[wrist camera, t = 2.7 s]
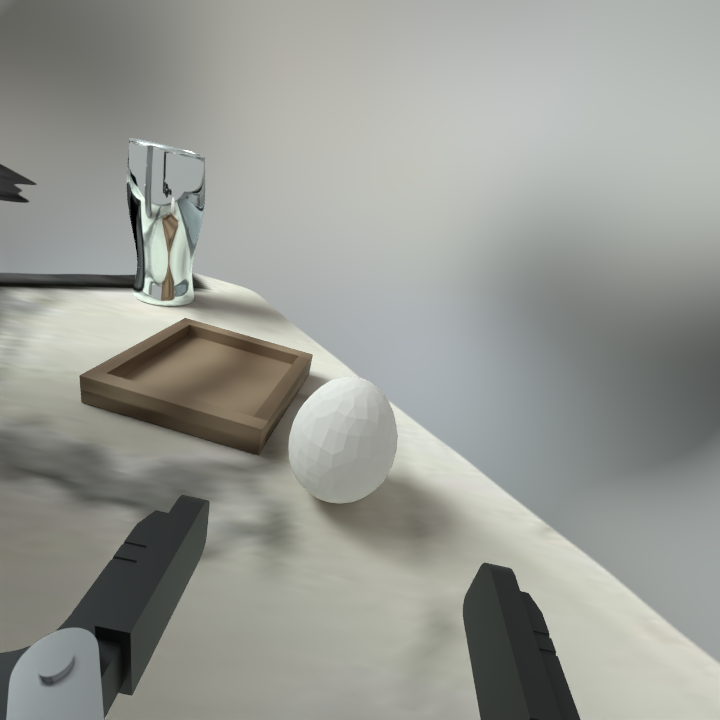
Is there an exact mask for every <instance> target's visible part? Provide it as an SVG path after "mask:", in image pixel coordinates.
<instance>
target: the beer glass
mask: <svg viewBox="0 0 720 720" xmlns="http://www.w3.org/2000/svg"><path fill="white" fill-rule="evenodd" d="M127 201H128V208H129V215H130V221H131V226H132V231H133V236H134V241H135V246H136V252H137V273H136V277H135V282H134V287H133V295H134V296H135V297H136V298H137V299H139V300H141V301H143V302H146V303H149V304H154V305H160V306H181V305H186V304H189V303H191V302H192V301H193V300H194V289H193V282H192V263H193V257H194V253H195V249H196V245H197V241H198V237H199V233H200V228H201V224H202V219H203V214H204V204H205V156H204V155H201V154H198V153H195V152H192V151H188V150H184V149H180V148H177V147H172V146H168V145H164V144H160V143H155V142H151V141H146V140H141V139H135V138H129V151H128V164H127Z"/></svg>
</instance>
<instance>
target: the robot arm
mask: <svg viewBox="0 0 720 720" xmlns="http://www.w3.org/2000/svg"><path fill="white" fill-rule="evenodd" d="M208 515H209V501H208V500H203V499H199V498H194V497H190V496H185V495H182V496H180V497H179V499H178V500H177V501H176V503H175V505H174V506H173V508H172V509H171V511H170V512H169V513H165V512H161V511H154V512H153V513H152V514H150V515H149V516H147V517H146V518H145V519H143V520H142V521H141V522H139V523H138V524H137V525H136V526H135V528H134V529H133V530H132V532H131V533H130V535H129V536H128V537H127V539H126V540H125V542H124V544H123V545H121V547H120V548H119V550H118V551H117V552H116V554H115V555H114V557H113V559H112V560H110V562H109V563H108V565H107V566H106V567H105V569H104V570H103V571H102V573H101V574H100V575H99V577H98V578H97V580H96V581H95V582H94V584H93V585H92V586H91V588H90V589H89V591H88V592H87V593H86V595H85V596H84V597H83V599H82V600H81V601H80V603H79V604H78V606H77V607H76V608H75V610H74V611H73V612H72V614H71V615H70V616H69V618H68V619H67V620H66V621H65V622H64V623H63V624H62V625H61V626H60V627H59V628H58V629H57V630H56V631H55V632H53V633H50V634H48V635H47V636H45V637H43V638H41V639H40V640H39V641H37V642H36V643H34V644H33V645H31V646H29V647H26V648H23V649H20V650H16V651H11V652H5V653H0V720H104V719H105V717H106V715H107V713H108V711H109V709H110V707H111V705H112V703H113V702H114V700H115V698H116V696H117V694H118V693H122V694H127V695H132V694H133V692H134V690H135V688H136V686H137V684H138V682H139V680H140V678H141V676H142V674H143V672H144V670H145V668H146V666H147V664H148V662H149V660H150V658H151V656H152V654H153V652H154V650H155V648H156V646H157V644H158V642H159V640H160V638H161V636H162V634H163V632H164V630H165V628H166V626H167V624H168V622H169V620H170V618H171V616H172V614H173V612H174V610H175V608H176V606H177V604H178V602H179V600H180V598H181V596H182V594H183V592H184V590H185V588H186V586H187V584H188V582H189V580H190V578H191V576H192V574H193V572H194V570H195V568H196V566H197V564H198V562H199V560H200V557H201V555H202V552H203V549H204V546H205V542H206V536H207V525H208ZM463 620H464V626H465V631H466V637H467V643H468V649H469V654H470V660H471V666H472V671H473V677H474V683H475V689H476V694H477V700H478V706H479V712H480V717H481V720H580V717H579V715H578V712H577V709H576V706H575V703H574V701H573V698H572V695H571V692H570V690H569V687H568V684H567V681H566V678H565V676H564V673H563V670H562V667H561V664H560V662H559V659H558V656H556V651H555V648H554V645H553V642H552V639H551V638H550V637H549V631H548V628H547V626H546V623H545V620H544V617H543V614H542V612H541V611H540V609H539V608H538V606H537V605H536V603H535V602H534V601H533V599H532V598H531V596H530V595H529V593H526V592H521V591H520V589H519V586H518V583H517V580H516V577H515V574H514V572H513V571H512V569H510V568H507V567H502V566H498V565H493V564H489V563H483V564H482V565H481V567H480V569H479V570H478V572H477V574H476V576H475V578H474V580H473V582H472V584H471V586H470V588H469V590H468V591H467V593H466V596H465V599H464V604H463Z"/></svg>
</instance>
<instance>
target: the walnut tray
mask: <svg viewBox="0 0 720 720" xmlns="http://www.w3.org/2000/svg"><path fill="white" fill-rule="evenodd" d="M312 356H313V355H312V354H309V353H305V352H302V351H298V350H295V349H291V348H288V347H284V346H281V345H277V344H274V343H270V342H267V341H263V340H260V339H256V338H253V337H249V336H246V335H242V334H239V333H235V332H232V331H229V330H225V329H222V328H218V327H215V326H211V325H208V324H204V323H201V322H197V321H194V320H190V319H187V318H184V319H183V320H181V321H179V322H177V323H175V324H173V325H172V326H170V327H168V328H166V329H164V330H162V331H161V332H159V333H157V334H155V335H153V336H151V337H150V338H148V339H146V340H144V341H142V342H140V343H139V344H137V345H135V346H133V347H131V348H129V349H128V350H126V351H124V352H122V353H120V354H118V355H117V356H115V357H113V358H111V359H109V360H107V361H106V362H104V363H102V364H100V365H98V366H96V367H95V368H93V369H91V370H89V371H87V372H85V373H84V374H82V375H80V388H81V401H82V403H86V404H89V405H92V406H96V407H99V408H103V409H106V410H109V411H113V412H116V413H119V414H123V415H126V416H129V417H133V418H136V419H139V420H143V421H146V422H149V423H153V424H156V425H159V426H163V427H166V428H169V429H173V430H176V431H180V432H183V433H186V434H190V435H193V436H196V437H200V438H203V439H206V440H210V441H213V442H216V443H220V444H223V445H226V446H230V447H233V448H236V449H240V450H243V451H246V452H250V453H253V454H256V455H259V453H260V451H261V450H262V448H263V447H264V445H265V443H266V442H267V440H268V439H269V437H270V435H271V434H272V432H273V431H274V429H275V427H276V426H277V424H278V423H279V421H280V419H281V418H282V416H283V414H284V413H285V411H286V410H287V408H288V406H289V405H290V403H291V402H292V400H293V398H294V397H295V395H296V394H297V392H298V390H299V389H300V387H301V386H302V384H303V382H304V381H305V379H306V378H307V376H308V374H309V370H310V365H311V361H312Z"/></svg>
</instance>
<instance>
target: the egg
mask: <svg viewBox="0 0 720 720" xmlns="http://www.w3.org/2000/svg"><path fill="white" fill-rule="evenodd" d="M397 437H398V435H397V429H396V423H395V418H394V414H393V411H392V409H391V406H390V404H389V402H388V400H387V398H386V396H385V395H384V394H383V392H382V391H380V390H379V389H378V388H377V387H376V386H375V385H374V384H372V383H371V382H369V381H367V380H365V379H362V378H358V377H342V378H337V379H334V380H332V381H329V382H327V383H326V384H324V385H323V386H321V387H320V388H319V389H317V390H316V391H315V392H314V393H313V394H312V395H311V396H310V397H309V398H308V399H307V400H306V402H305V403H304V404H303V405H302V407H301V408H300V409H299V411H298V413H297V415H296V417H295V419H294V421H293V425H292V428H291V432H290V435H289V461H290V464H291V467H292V469H293V472H294V474H295V476H296V478H297V480H298V481H299V483H300V484H301V485H302V486H303V487H304V488H305V489H306V490H307V491H308V492H309V493H310V494H312V495H313V496H315V497H316V498H318V499H320V500H323V501H326V502H330V503H351V502H354V501H357V500H360V499H362V498H364V497H366V496H367V495H369V494H370V493H372V492H373V491H374V490H375V489H376V488H377V487H378V486H379V485H380V484H381V483H382V482H383V481H384V480H385V478H386V476H387V474H388V473H389V471H390V469H391V467H392V464H393V461H394V457H395V454H396V449H397Z"/></svg>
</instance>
